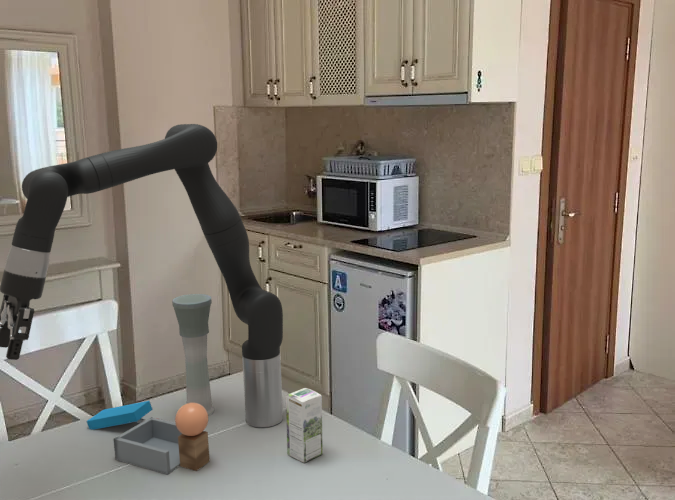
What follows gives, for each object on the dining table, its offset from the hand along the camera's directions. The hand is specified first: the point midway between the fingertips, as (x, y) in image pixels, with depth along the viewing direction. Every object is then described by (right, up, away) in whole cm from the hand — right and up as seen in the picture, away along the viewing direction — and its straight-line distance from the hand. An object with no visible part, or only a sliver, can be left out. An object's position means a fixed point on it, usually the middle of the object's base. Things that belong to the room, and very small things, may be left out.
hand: (7, 352), depth 131 cm
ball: (+33, -17, +15) cm, 39 cm away
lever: (+13, -24, +36) cm, 45 cm away
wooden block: (+33, -27, +17) cm, 46 cm away
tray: (+24, -26, +21) cm, 41 cm away
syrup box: (+57, -26, +20) cm, 65 cm away
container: (+29, -22, +43) cm, 56 cm away
